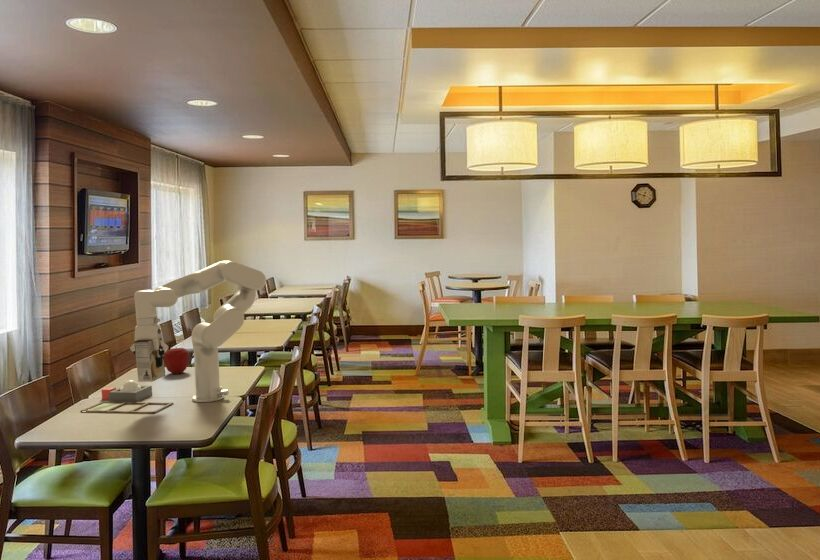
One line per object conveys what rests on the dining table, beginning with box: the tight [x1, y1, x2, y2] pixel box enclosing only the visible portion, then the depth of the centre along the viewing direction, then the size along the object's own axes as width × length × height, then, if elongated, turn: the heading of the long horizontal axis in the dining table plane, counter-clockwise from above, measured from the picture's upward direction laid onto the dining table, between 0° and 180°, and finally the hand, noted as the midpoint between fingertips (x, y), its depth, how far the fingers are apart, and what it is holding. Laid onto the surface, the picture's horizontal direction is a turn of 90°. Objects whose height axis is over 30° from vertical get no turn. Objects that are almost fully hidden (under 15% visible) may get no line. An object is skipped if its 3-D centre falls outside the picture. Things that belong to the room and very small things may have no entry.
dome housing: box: [108, 385, 153, 402], centre depth 274 cm, size 12×12×4 cm
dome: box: [119, 379, 142, 392], centre depth 274 cm, size 8×8×6 cm
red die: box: [101, 386, 117, 400], centre depth 276 cm, size 4×4×4 cm
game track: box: [80, 401, 174, 415], centre depth 258 cm, size 31×14×1 cm, turn 81°
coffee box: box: [133, 340, 166, 383], centre depth 256 cm, size 9×6×16 cm
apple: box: [163, 347, 190, 375], centre depth 323 cm, size 12×12×13 cm
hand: (150, 366), depth 256 cm, fingers closed on coffee box, 6 cm apart
